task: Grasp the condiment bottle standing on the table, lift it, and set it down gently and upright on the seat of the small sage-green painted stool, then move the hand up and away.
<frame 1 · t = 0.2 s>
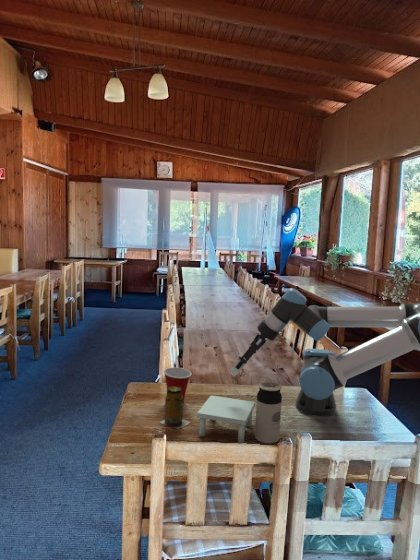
hand: (235, 368, 165), 16 cm above the table, tool tilted 35°, fingers open, 13 cm apart
stool: (226, 429, 151), on the table
travel mug: (266, 438, 146), on the table
condiment: (175, 423, 155), on the table
plastic cup: (176, 401, 174), on the table
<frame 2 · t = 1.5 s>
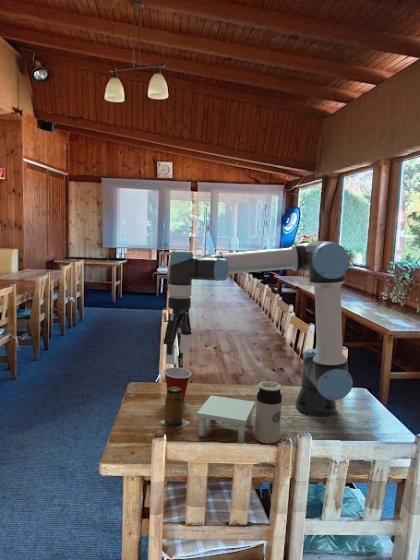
hand: (177, 358, 152), 23 cm above the table, tool pointing down, fingers open, 13 cm apart
nothing on the table moved.
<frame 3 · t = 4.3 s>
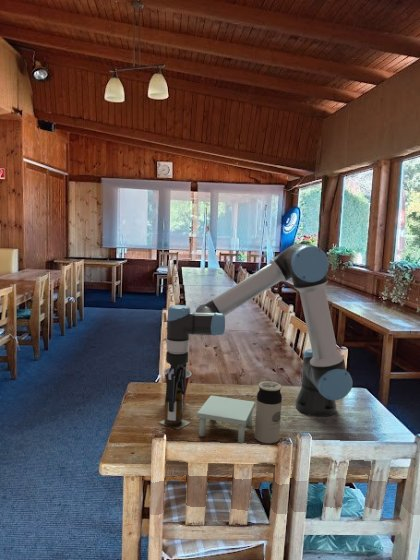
hand: (175, 415, 155), 2 cm above the table, tool pointing down, fingers closed on condiment, 6 cm apart
condiment: (174, 423, 155), on the table, touching gripper
everything else where it was.
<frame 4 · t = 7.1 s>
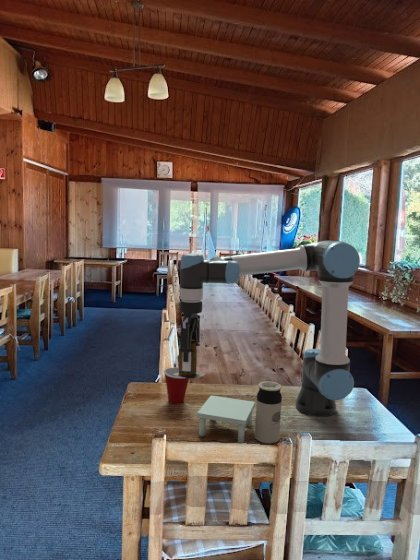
hand: (189, 367, 152), 20 cm above the table, tool pointing down, fingers closed on condiment, 6 cm apart
condiment: (189, 375, 151), point 18 cm above the table, touching gripper
everything else where it was.
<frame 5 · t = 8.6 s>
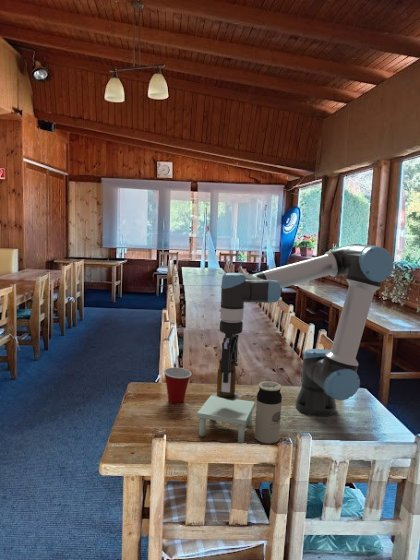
hand: (228, 387, 149), 15 cm above the table, tool pointing down, fingers closed on condiment, 6 cm apart
condiment: (227, 396, 149), point 12 cm above the table, touching gripper
everything else where it was.
when the fingers open (12 cm above the table, at t = 9.9 s): condiment drops 1 cm, resting on stool.
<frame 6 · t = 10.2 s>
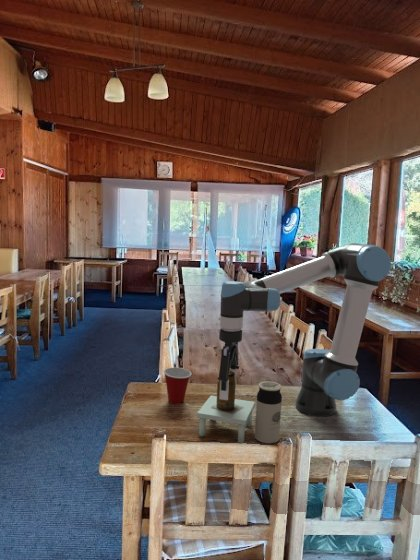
hand: (227, 393, 149), 13 cm above the table, tool pointing down, fingers open, 10 cm apart
condiment: (227, 408, 150), point 8 cm above the table, touching stool
everything else where it was.
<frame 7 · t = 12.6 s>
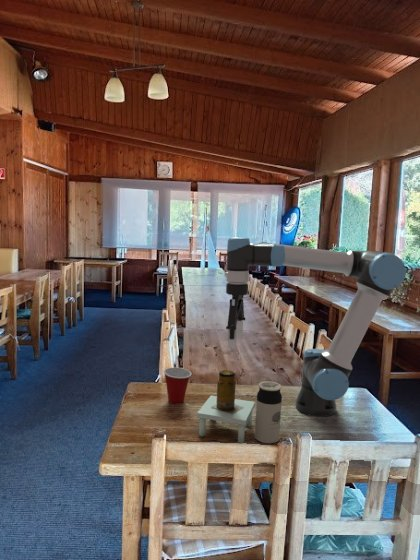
hand: (235, 343, 156), 28 cm above the table, tool pointing down, fingers open, 13 cm apart
nothing on the table moved.
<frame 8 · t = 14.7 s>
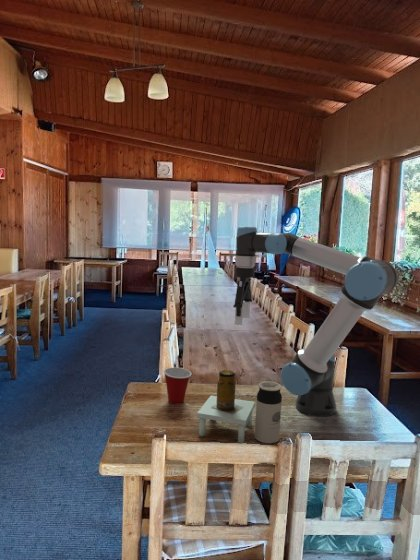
hand: (242, 321, 174), 32 cm above the table, tool pointing down, fingers open, 13 cm apart
nothing on the table moved.
at the end: condiment inside the target area on the stool (0.3 cm from its centre), point 7.8 cm above the stool's base; condiment tilted 0°; the gripper is holding nothing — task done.
